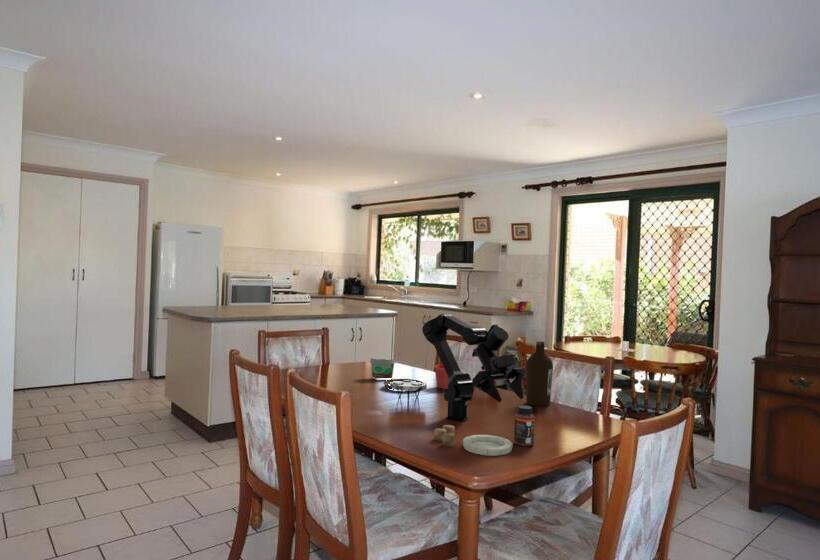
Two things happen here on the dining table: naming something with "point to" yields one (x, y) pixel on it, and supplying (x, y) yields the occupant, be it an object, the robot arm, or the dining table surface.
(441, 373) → the flower pot
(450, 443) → the wooden bead
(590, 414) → the dining table surface
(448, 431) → the wooden bead
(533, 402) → the olive oil
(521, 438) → the supplement bottle
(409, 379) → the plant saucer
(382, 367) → the food container
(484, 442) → the round tray
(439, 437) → the wooden bead
